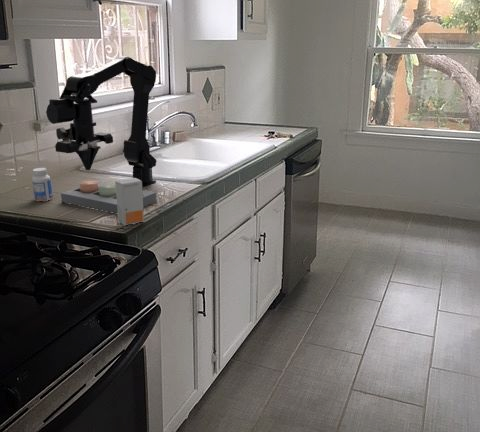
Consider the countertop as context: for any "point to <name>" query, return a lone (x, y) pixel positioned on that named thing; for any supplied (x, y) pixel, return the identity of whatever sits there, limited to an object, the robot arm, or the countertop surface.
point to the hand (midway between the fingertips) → (88, 169)
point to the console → (100, 199)
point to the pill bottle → (41, 185)
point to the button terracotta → (89, 186)
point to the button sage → (107, 190)
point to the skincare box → (129, 201)
